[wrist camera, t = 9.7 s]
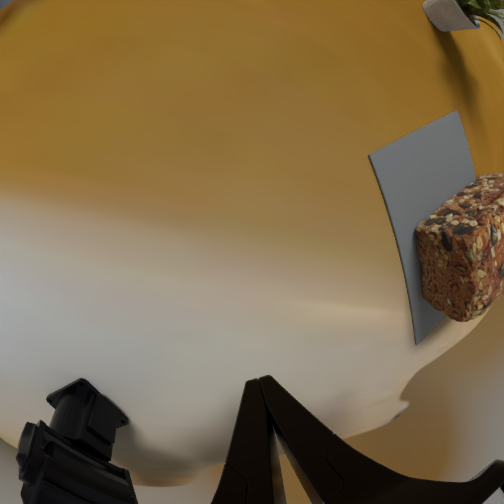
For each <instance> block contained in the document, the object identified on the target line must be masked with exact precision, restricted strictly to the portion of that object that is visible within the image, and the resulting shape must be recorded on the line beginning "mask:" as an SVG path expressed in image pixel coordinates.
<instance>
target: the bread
mask: <svg viewBox="0 0 504 504" xmlns="http://www.w3.org/2000/svg"><path fill="white" fill-rule="evenodd" d="M416 238H417V240H418V241H417V253H418V256H419V258H420V260H421V265H422V277H421V283H422V287H423V289H422V294H423V298H424V299H425V300H426V301H427V302H428V303H429V304H430V305H431V306H432V307H433V308H434V309H436V310H438V311H439V312H441V313H443V314H445V315H448V316H449V317H450V318H451V319H454V320H456V321H458V322H467V321H469V320H470V319H474V318H476V317H477V316H481V315H482V314H484V313H485V312H486V310H487V309H488V308H490V306H491V305H492V304H493V303H494V302H495V301H497V300H498V299H499V298H500V296H501V295H502V294H503V293H504V172H502V173H499V172H495V173H493V174H490V173H488V174H484V175H481V176H479V178H478V179H477V180H476V181H475V182H473V183H471V184H469V185H467V186H466V187H464V189H462V190H461V191H459V192H458V193H457V194H455V195H454V196H452V197H451V198H450V199H448V200H447V201H446V202H444V203H443V204H442V206H441V207H439V208H437V210H436V211H434V212H433V213H432V215H430V216H429V217H428V218H426V219H425V220H424V221H422V222H420V223H419V225H418V226H417V229H416Z"/></svg>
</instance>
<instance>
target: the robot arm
mask: <svg viewBox="0 0 504 504" xmlns="http://www.w3.org/2000/svg"><path fill="white" fill-rule="evenodd" d="M82 383H83V384H82ZM260 386H261V387H260ZM46 400H47V402H48V403H49V404H50V405H51V406H52V407H53V408H54V409H55V412H54V415H53V417H52V420H51V423H50V426H49V427H48V426H47V425H46V423H44V422H43V421H42V420H40V421H39V422H38V423H37V424H35V423H34V424H33V423H29V422H27V423H26V424H25V426H24V429H23V431H22V434H21V437H20V440H19V444H18V448H17V454H16V460H17V462H18V464H19V480H20V481H22V482H24V483H23V486H22V490H21V498H22V501H23V504H138V501H137V498H136V495H135V492H134V489H133V485H132V481H131V477H130V474H129V471H128V470H126V469H124V468H120V467H117V466H115V465H113V464H111V463H109V462H108V461H111V456H112V447H113V444H114V443H115V435H116V428H119V427H122V426H124V425H127V424H128V418H127V417H126V416H124V415H123V414H122V413H121V412H120V411H118V410H117V409H116V408H115V407H114V406H113V405H112V404H110V403H109V402H108V401H107V400H106V399H105V398H104V397H103V396H102V395H101V394H100V393H99V392H97V391H96V390H95V389H94V388H93V387H92V386H91V385H90V384H89V383H88V382H87V381H86V380H85V379H83V378H80V379H78V380H76V381H74V382H72V383H70V384H69V385H67V386H65V387H63V388H61V389H59V390H57V391H55V392H53V393H52V394H50V395H48V396H47V398H46ZM123 420H124V421H123ZM273 428H274V429H273ZM274 431H275V432H274ZM275 433H276V435H277V438H278V440H279V442H280V444H281V446H282V448H283V450H284V452H285V454H286V455H287V458H288V459H289V461H290V463H291V465H292V467H293V469H294V471H295V473H296V475H297V477H298V479H299V481H300V482H301V484H302V486H303V488H304V490H305V492H306V493H307V495H308V497H309V499H310V501H311V503H312V504H504V461H503V460H498V459H497V460H495V461H493V462H492V463H490V464H489V465H488V466H487V467H486V468H484V469H483V470H482V471H481V472H479V473H478V474H477V475H476V476H474V477H473V478H472V479H470V480H469V481H467V482H444V481H433V480H425V479H417V478H412V477H408V476H405V475H402V474H399V473H397V472H395V471H393V470H391V469H389V468H387V467H385V466H383V465H381V464H379V463H377V462H376V461H374V460H372V459H370V458H368V457H367V456H365V455H363V454H362V453H360V452H359V451H357V450H355V449H354V448H352V447H351V446H350V445H348V444H347V443H346V442H344V441H343V440H342V439H341V438H340V437H338V436H337V435H336V434H333V432H332V431H331V430H330V429H329V428H328V427H326V426H325V425H324V424H323V423H322V422H321V421H319V420H318V419H317V418H316V417H315V416H314V415H313V414H312V413H310V412H309V411H308V410H307V409H306V408H305V407H304V406H303V405H302V404H300V403H299V402H298V401H297V400H296V399H295V398H294V397H293V396H292V395H291V394H290V393H289V392H288V391H286V390H285V389H284V388H283V387H282V386H281V385H280V384H279V383H278V382H277V381H276V380H275V379H274V378H273V377H272V376H271V375H266V376H263V377H260V378H259V380H258V379H257V378H255V379H252V380H248V381H246V383H245V387H244V391H243V395H242V399H241V403H240V407H239V411H238V415H237V419H236V423H235V427H234V431H233V435H232V439H231V442H230V446H229V450H228V454H227V458H226V461H225V463H226V464H225V465H224V468H223V472H222V476H221V479H220V482H219V485H218V488H217V490H216V493H215V495H214V498H213V500H212V502H211V504H287V503H286V497H285V492H284V486H283V479H282V473H281V467H280V461H279V455H278V449H277V443H276V437H275Z"/></svg>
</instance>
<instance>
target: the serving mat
mask: <svg viewBox="0 0 504 504" xmlns="http://www.w3.org/2000/svg"><path fill="white" fill-rule="evenodd" d="M368 157H369V160H370V162H371V165H372V167H373V170H374V173H375V175H376V178H377V181H378V184H379V187H380V190H381V192H382V195H383V198H384V201H385V205H386V208H387V211H388V214H389V217H390V221H391V224H392V228H393V231H394V235H395V239H396V242H397V246H398V250H399V254H400V258H401V263H402V267H403V272H404V276H405V281H406V286H407V291H408V297H409V302H410V308H411V314H412V321H413V328H414V336H415V344H416V345H417V344H418V343H419V342H420V341H421V340H422V339H423V338H425V337H426V336H427V335H428V334H429V333H430V332H431V331H432V330H433V329H434V327H435V326H436V325H437V324H438V323H439V322H440V321H441V320H442V319H443V318H444V317H445V316H446V315H445V314H443V313H441V312H439V311H438V310H436V309H434V308H433V307H432V306H431V305H430V304H429V303H428V302H427V301H426V300H425V299H424V298H423V294H422V289H423V287H422V283H421V277H422V265H421V260H420V258H419V256H418V253H417V241H418V240H417V238H416V229H417V226H418V225H419V223H420V222H422V221H424V220H425V219H426V218H428V217H429V216H430V215H432V213H433V212H434V211H436V210H437V208H439V207H441V206H442V204H443V203H444V202H446V201H447V200H448V199H450V198H451V197H452V196H454V195H455V194H457V193H458V192H459V191H461V190H462V189H464V187H466V186H467V185H469V184H471V183H473V182H475V181H476V176H475V171H474V167H473V162H472V158H471V154H470V150H469V146H468V142H467V139H466V135H465V132H464V128H463V125H462V122H461V119H460V116H459V113H458V110H457V111H454V112H452V113H450V114H448V115H446V116H444V117H442V118H440V119H438V120H436V121H434V122H432V123H430V124H428V125H426V126H424V127H422V128H420V129H418V130H416V131H414V132H412V133H410V134H408V135H406V136H404V137H402V138H400V139H398V140H396V141H394V142H392V143H390V144H389V145H387V146H385V147H383V148H381V149H379V150H377V151H375V152H373V153H371V154H370V155H368Z"/></svg>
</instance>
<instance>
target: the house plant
mask: <svg viewBox="0 0 504 504" xmlns="http://www.w3.org/2000/svg"><path fill="white" fill-rule="evenodd" d="M423 9H424V11H425V13H426V15H427V16H428V18H429V19H430V21H431V22H432V23H433V24H434V25H435V26H436V27H437V28H438V29H439V30H441V31H442V32H447V31H456V30H466V29H479V28H480V23H479V21H482V20H480V19H478V17H477V16H481V17H483V18H485V19H487V20H489V21H491V22H493V23H494V24H495V25H496V26H497V27H498V28H499V29H500V30H501V31H502V29H501V27H500V25H499V23H498V22H497V21H496V20H495V19H494V18H492V17H491V16H489V15H487V14H485V13H488V14H492V15H494V16H497V17H498V18H500V19H501V18H502V17H500V16H499V15H498V14H500V15H504V14H502V13H499V12H496V11H491V10H490V9H494V10H498V9H504V0H427V1H425V2H424V3H423ZM503 19H504V18H503ZM501 20H502V19H501ZM482 22H484V21H482ZM484 23H486V22H484ZM503 23H504V22H503ZM486 24H487V23H486ZM487 25H489V24H487ZM489 26H490V25H489ZM490 27H491V26H490ZM491 28H492V29H494V28H493V27H491ZM494 30H495V29H494ZM495 32H496V33H497V31H496V30H495ZM502 33H503V31H502ZM497 34H498V33H497ZM498 36H499V37H500V35H499V34H498ZM500 40H501V37H500Z"/></svg>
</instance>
